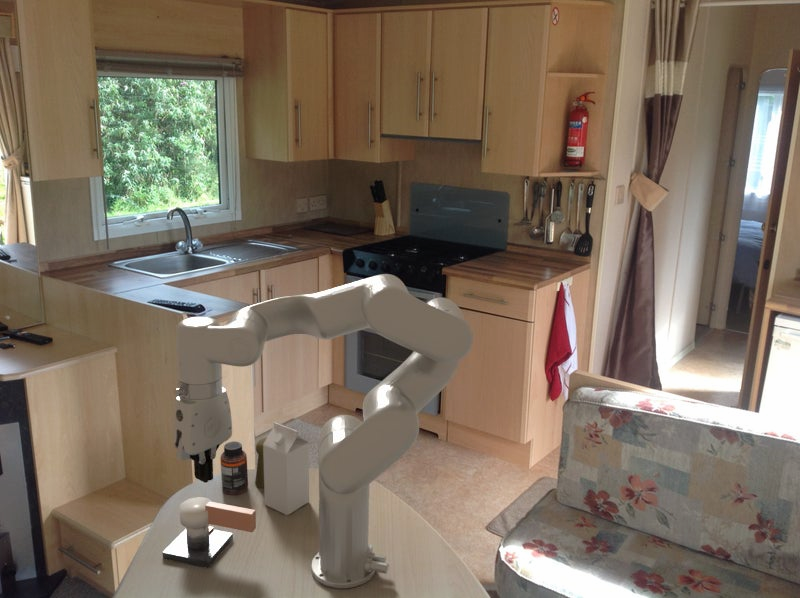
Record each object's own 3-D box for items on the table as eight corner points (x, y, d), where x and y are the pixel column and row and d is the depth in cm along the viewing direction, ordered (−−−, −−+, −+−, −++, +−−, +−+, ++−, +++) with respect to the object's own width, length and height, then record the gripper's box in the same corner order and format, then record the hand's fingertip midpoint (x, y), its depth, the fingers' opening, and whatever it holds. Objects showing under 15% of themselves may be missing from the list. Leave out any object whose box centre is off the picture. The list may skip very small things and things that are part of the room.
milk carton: (286, 492, 172) (285, 416, 166) (309, 502, 168) (308, 425, 162) (264, 505, 166) (262, 427, 161) (287, 516, 162) (286, 437, 157)
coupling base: (232, 539, 153) (231, 511, 151) (208, 568, 144) (206, 539, 142) (189, 530, 156) (188, 503, 154) (162, 558, 147) (160, 530, 145)
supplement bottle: (237, 479, 176) (235, 436, 173) (253, 488, 173) (252, 444, 169) (216, 489, 172) (214, 445, 169) (232, 498, 168) (230, 453, 165)
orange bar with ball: (173, 524, 146) (172, 506, 145) (191, 507, 152) (190, 490, 151) (246, 539, 142) (245, 521, 141) (261, 521, 148) (260, 503, 147)
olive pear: (275, 490, 172) (274, 448, 169) (251, 487, 173) (249, 444, 170) (284, 478, 178) (283, 436, 175) (260, 474, 179) (259, 433, 176)
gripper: (179, 405, 124) (184, 502, 129) (246, 379, 135) (248, 469, 140) (151, 393, 128) (157, 488, 133) (219, 369, 139) (221, 457, 145)
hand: (204, 478), depth 137 cm, fingers closed
